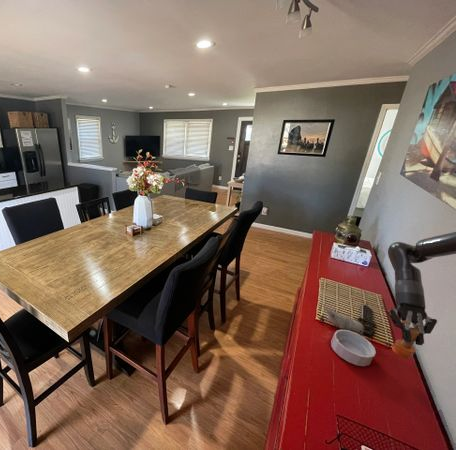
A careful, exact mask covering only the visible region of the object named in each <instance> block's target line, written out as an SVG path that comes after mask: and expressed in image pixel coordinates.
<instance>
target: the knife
mask: <svg viewBox="0 0 456 450" xmlns="http://www.w3.org/2000/svg"><path fill="white" fill-rule="evenodd" d="M357 321H358V322H360V323H361V324H362V325H363V327H364V333H363V334H362V335H365V336H367V337H368V336H369V337H374V336H373V335H374V333H375V328H376V326H377V323H375V322H374V321H373V309H372V308H371V307H369V306H368V305H367V304H364V305H361V317H358V319H357ZM366 322H367V324H368V325H366V324H365V323H366Z"/></svg>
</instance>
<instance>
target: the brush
mask: <svg viewBox="0 0 456 450" xmlns="http://www.w3.org/2000/svg"><path fill="white" fill-rule="evenodd" d="M409 331H410V337H411V342H405V341H404V339H403V338H402V339H396V340H395V341H394V344H393V345H392V347H391V350H392V351H393V352H394V354H396V355H398V356H399V357H401V358H403V359H407V360H410V359H412V357H413V356H414V355H415V352H416V350H417V349H416V348H415V346H414V344H415V340H416V339H417V337H418V335H419V334H420V331H419V330H418V329H416V328H414V327H413V326H410V328H409Z"/></svg>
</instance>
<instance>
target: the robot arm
mask: <svg viewBox="0 0 456 450" xmlns="http://www.w3.org/2000/svg"><path fill="white" fill-rule="evenodd" d="M451 255H452V256H453V255H456V231H452V232H448V233H444V234H440V235H435V236H431V237H427V238H426V237H425V238H423V239H420V240H418V241H417V242H416V244H415V245H414V244H409V243H406V242H402V241H395V242H393V243H391V244H390V245H389V247H388V248H387V256H388V259H389V261H390V264H391V266H392V268H393V271H394V295H395V296H394V297H395V298H394V299H395V308H393V309H387V310H386V313H387V315H388V316H389V318H390V320H391V322H392V324H393V325H394V327H396V328H398V329H400V330H401V338H402V340H403V339H404V341H405V342H411V337H410V331H409V328H410V327H411V325H412V327H413V328H416V329H418V330H419V331H420V334H419V335H418V337H417V339H416V340H415V342H414V344H415V345H417V346H423V345H424V344H425V337H424V335H426V334H431V333H433V330H434V328H435V326H436V325H437V323H438V320H437V319H436V318H432V317H430V316H428V314H427V312H426V299H425V290H424V286H423V281H422V279H423V278H422V272H421V269H420V268H418V267H416V266H415V265H413V264H421V263H424V262H426V261H429V260H432V259H433V258H439V257H447V256H451ZM399 317H400V318H399ZM424 322H425V323H424Z"/></svg>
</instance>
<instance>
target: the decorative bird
mask: <svg viewBox="0 0 456 450" xmlns="http://www.w3.org/2000/svg"><path fill="white" fill-rule="evenodd" d="M323 309H324V311H325V312H326V315H323V314H321V321H322V322H321V324H323V323H324V317H325V318H326V317H327V318H326V319H325V321H329V322H330V323H332V324H333V325H334V326H337V327H339V328H340V329H341V330H349V331H353V332H355V333H357V334H359V335H360V336H362V335H364V334H363V333H364V331H365V330H364V329H365V328H364V327H363V325H362V324H361V323H360V322H361V321H359V320H355V319H352V318H350V317H348V316H347V315H345V314H342V313H340V312H339V311H335V310H332V309H330V308H328V307H325V306H324V307H323Z"/></svg>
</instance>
